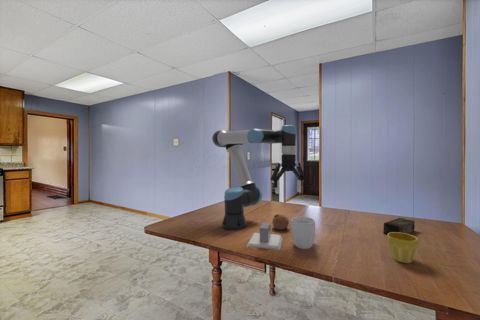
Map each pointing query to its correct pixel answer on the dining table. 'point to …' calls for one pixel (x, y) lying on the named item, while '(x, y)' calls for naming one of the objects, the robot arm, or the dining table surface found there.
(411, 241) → the plant pot
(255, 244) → the lid
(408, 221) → the beverage carton
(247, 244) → the mat
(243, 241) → the dining table surface
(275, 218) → the onion
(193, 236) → the dining table surface
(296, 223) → the mug
